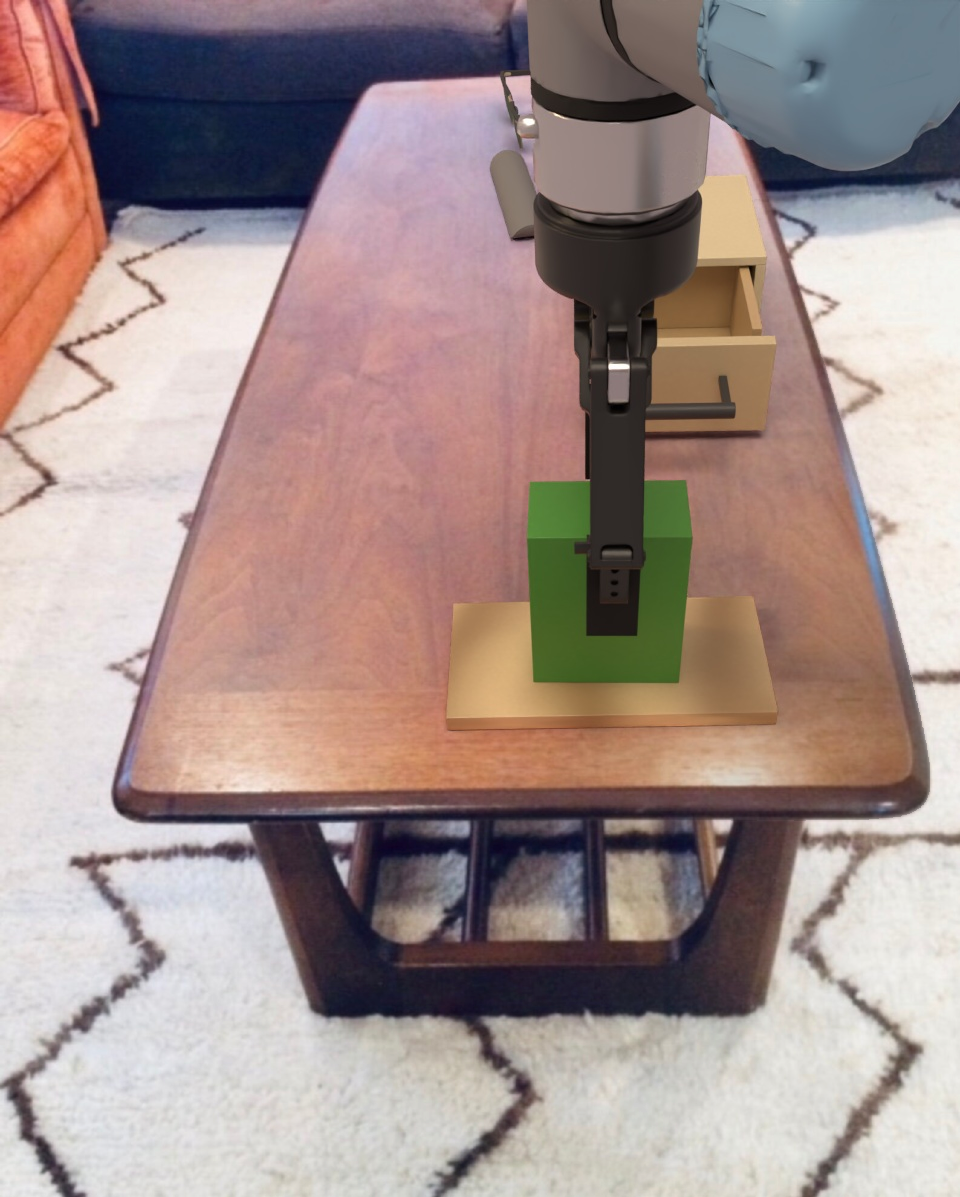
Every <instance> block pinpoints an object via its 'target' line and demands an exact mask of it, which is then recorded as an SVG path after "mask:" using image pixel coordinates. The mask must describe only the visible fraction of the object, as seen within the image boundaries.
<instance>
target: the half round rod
mask: <svg viewBox="0 0 960 1197" xmlns="http://www.w3.org/2000/svg"><path fill="white" fill-rule="evenodd" d="M489 170H490V174H491V178H492V181H493V185H494V187H495V192H496V195H497V198H498V202H499V205H500V208H501V211H502V215H503V218H504V222H505V224H506V228H507V231H508V235H509V237H510V238H511V239H519V238H528V237H534V211H533V203H534V199H535V197H536V195H537V194H538V192H537V190H536V187H535V184H534V181H533V180H532V176H531V174H530V171H529V169H528V166H527V163H526V161H525V159H524V156H522V154H520V153H519V152H518V151H517V150H516V151H515V150H513V149H505V150H501V151H499V152H497V153H496V154H495V155H494V156H493V157H492V159H491V161H490V165H489Z"/></svg>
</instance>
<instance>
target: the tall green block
mask: <svg viewBox="0 0 960 1197" xmlns="http://www.w3.org/2000/svg"><path fill="white" fill-rule="evenodd" d="M687 484H688V483H687V479H664V480H663V479H658V480H656V479H654V480H651V479H650V480H645V479H644V534H643V549H644V551H646V562H644V567H643V569H641V573H640V593H639V612H638V632H637V636H586V554H574V542H587V535H590V480H566V481H565V480H563V481H561V480H560V481H559V480H558V481H557V480H555V481H553V480H552V481H550V480H549V481H548V480H547V481H529V485H528V486H529V488H528V504H527V505H528V508H527V523H526V524H527V526H526V550H527V575H528V576H527V577H528V595H529V596H528V597H529V602H530V621H531V643H532V665H533V682H577V683H679V676H680V666H681V655H682V645H683V634H684V624H685V613H686V603H687V598H688V592H689V591H688V590H689V581H690V571H691V570H690V569H691V558H692V548H693V539H694V538H693V536H694V535H693V528H692V518H691V510H690V500H689V492H688V485H687Z"/></svg>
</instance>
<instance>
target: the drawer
mask: <svg viewBox="0 0 960 1197" xmlns="http://www.w3.org/2000/svg"><path fill="white" fill-rule="evenodd" d="M653 318H657V348H656V350H655V352H654V354H653V355H652V400H651V404H650V405H649V407H648V408H647V409H646V418H645V433H654V432H655V433H659V432H660V433H664V432H665V433H666V432H668V433H669V432H715V431H716V432H723V431H724V432H725V431H726V432H730V431H731V432H732V431H738V432H739V431H765V429H766V424H767V416H768V408H769V402H770V394H771V390H772V388H771V387H772V380H773V373H774V367H775V359H776V352H777V347H778V346H777V345H778V343H777V338H776V336H775V335H763V331H764V330H763V329H764V328H763V324H762V319H761V313H760V314H759V310H758V305H757V301H756V297H755V292H754V288H753V284H752V279H751V275H750V271H749V266H748V265H744V266H708V267H696V269H695V271H694V273H693V275H692V276H691V277H690V279H689V280H688V281H687V282H686V283H685V284H684V285H683V286H681V287H680V288H679V289H677V290H676V291H674V292H672V293H670V294H668V295H666V296H662V297H659V298H657V299H655V300H654V317H653Z"/></svg>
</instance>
